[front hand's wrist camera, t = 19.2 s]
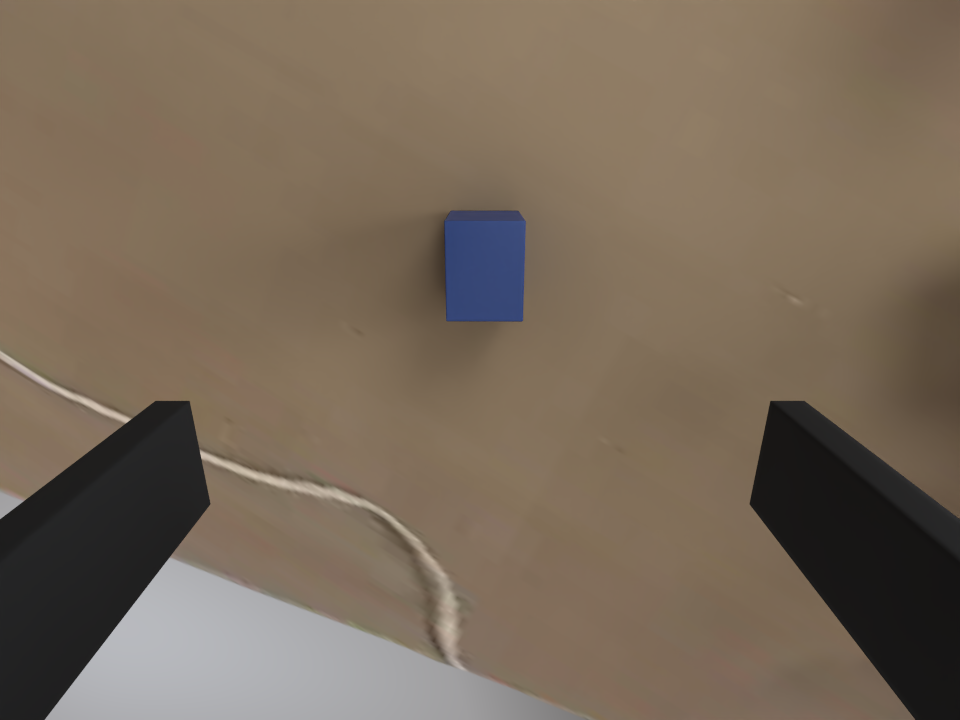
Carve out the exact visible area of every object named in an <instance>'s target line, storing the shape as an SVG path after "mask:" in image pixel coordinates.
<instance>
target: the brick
mask: <svg viewBox="0 0 960 720" xmlns="http://www.w3.org/2000/svg"><path fill="white" fill-rule="evenodd" d="M525 225H526V222H525V220H524V218H523V217H522V216H521V214H520V213H519V211H451V212H450V213H449V215H448V216H447V218H446V219H445V221H444V231H445V278H446V321H523V295H524V260H525Z"/></svg>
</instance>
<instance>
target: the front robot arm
mask: <svg viewBox="0 0 960 720" xmlns="http://www.w3.org/2000/svg"><path fill="white" fill-rule="evenodd" d="M209 505H210V500H209V495H208V490H207V485H206V480H205V475H204V470H203V465H202V460H201V455H200V450H199V445H198V441H197V436H196V431H195V426H194V421H193V416H192V411H191V406H190V401H155V402H154V403H152V404H151V405H150V406H148V407H147V408H146V409H144V410H143V411H142V412H140V413H139V414H138V415H137V416H135V417H134V418H133V419H131V420H130V421H129V422H127V423H126V424H125V425H123V426H122V427H121V428H119V429H118V430H117V431H116V432H114V433H113V434H112V435H110V436H109V437H108V438H106V439H105V440H104V441H102V442H101V443H100V444H98V445H97V446H96V447H95V448H93V449H92V450H91V451H89V452H88V453H87V454H85V455H84V456H83V457H81V458H80V459H79V460H77V461H76V462H75V463H74V464H72V465H71V466H70V467H68V468H67V469H66V470H64V471H63V472H62V473H60V474H59V475H58V476H56V477H55V478H54V479H53V480H51V481H50V482H49V483H47V484H46V485H45V486H43V487H42V488H41V489H39V490H38V491H37V492H35V493H34V494H33V495H32V496H30V497H29V498H28V499H26V500H25V501H24V502H22V503H21V504H20V505H18V506H17V507H16V508H15V509H13V510H12V511H11V512H9V513H8V514H7V515H5V516H4V517H3V518H1V519H0V720H45V718H46V717H47V716H48V714H49V713H50V712H51V711H52V709H53V708H54V707H55V705H56V704H57V703H58V702H59V700H60V699H61V698H62V696H63V695H64V694H65V692H66V691H67V690H68V688H69V687H70V686H71V685H72V683H73V682H74V681H75V679H76V678H77V677H78V676H79V674H80V673H81V672H82V670H83V669H84V668H85V666H86V665H87V664H88V663H89V661H90V660H91V659H92V657H93V656H94V655H95V653H96V652H97V651H98V650H99V648H100V647H101V646H102V644H103V643H104V642H105V640H106V639H107V638H108V636H109V635H110V634H111V633H112V631H113V630H114V629H115V627H116V626H117V625H118V623H119V622H120V621H121V620H122V618H123V617H124V616H125V614H126V613H127V612H128V611H129V609H130V608H131V607H132V605H133V604H134V603H135V601H136V600H137V599H138V598H139V596H140V595H141V594H142V592H143V591H144V590H145V588H146V587H147V586H148V585H149V583H150V582H151V581H152V579H153V578H154V577H155V575H156V574H157V573H158V572H159V570H160V569H161V568H162V566H163V565H164V564H165V562H166V561H167V560H168V559H169V557H170V556H171V555H172V553H173V552H174V551H175V550H176V548H177V547H178V546H179V544H180V543H181V542H182V540H183V539H184V538H185V537H186V535H187V534H188V533H189V531H190V530H191V529H192V527H193V526H194V525H195V524H196V522H197V521H198V520H199V518H200V517H201V516H202V514H203V513H204V512H205V511H206V509H207V508H208V507H209ZM750 505H751V507H752V508H753V509H754V511H755V512H756V513H757V514H758V516H759V517H760V518H761V520H762V521H763V522H764V524H765V525H766V526H767V527H768V529H769V530H770V531H771V533H772V534H773V535H774V537H775V538H776V539H777V540H778V542H779V543H780V544H781V546H782V547H783V548H784V550H785V551H786V552H787V553H788V555H789V556H790V557H791V559H792V560H793V561H794V562H795V564H796V565H797V566H798V568H799V569H800V570H801V572H802V573H803V574H804V575H805V577H806V578H807V579H808V581H809V582H810V583H811V585H812V586H813V587H814V588H815V590H816V591H817V592H818V594H819V595H820V596H821V598H822V599H823V600H824V601H825V603H826V604H827V605H828V607H829V608H830V609H831V611H832V612H833V613H834V614H835V616H836V617H837V618H838V620H839V621H840V622H841V624H842V625H843V626H844V627H845V629H846V630H847V631H848V633H849V634H850V635H851V637H852V638H853V639H854V640H855V642H856V643H857V644H858V646H859V647H860V648H861V650H862V651H863V652H864V653H865V655H866V656H867V657H868V659H869V660H870V661H871V663H872V664H873V665H874V666H875V668H876V669H877V670H878V672H879V673H880V674H881V676H882V677H883V678H884V679H885V681H886V682H887V683H888V685H889V686H890V687H891V689H892V690H893V691H894V692H895V694H896V695H897V696H898V698H899V699H900V700H901V702H902V703H903V704H904V705H905V707H906V708H907V709H908V711H909V712H910V713H911V715H912V716H913V717H914V718H915V720H960V519H959V518H957V517H956V516H955V515H953V514H952V513H951V512H949V511H948V510H947V509H946V508H944V507H943V506H942V505H940V504H939V503H938V502H936V501H935V500H934V499H932V498H931V497H930V496H928V495H927V494H926V493H925V492H923V491H922V490H921V489H919V488H918V487H917V486H915V485H914V484H913V483H911V482H910V481H909V480H907V479H906V478H905V477H904V476H902V475H901V474H900V473H898V472H897V471H896V470H894V469H893V468H892V467H890V466H889V465H888V464H886V463H885V462H884V461H883V460H881V459H880V458H879V457H877V456H876V455H875V454H873V453H872V452H871V451H869V450H868V449H867V448H865V447H864V446H863V445H862V444H860V443H859V442H858V441H856V440H855V439H854V438H852V437H851V436H850V435H848V434H847V433H846V432H844V431H843V430H842V429H841V428H839V427H838V426H837V425H835V424H834V423H833V422H831V421H830V420H829V419H827V418H826V417H825V416H823V415H822V414H821V413H820V412H818V411H817V410H816V409H814V408H813V407H812V406H810V405H809V404H808V403H806V402H805V401H770V406H769V411H768V416H767V421H766V426H765V431H764V436H763V441H762V445H761V450H760V455H759V460H758V465H757V470H756V475H755V480H754V485H753V490H752V495H751V500H750Z"/></svg>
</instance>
